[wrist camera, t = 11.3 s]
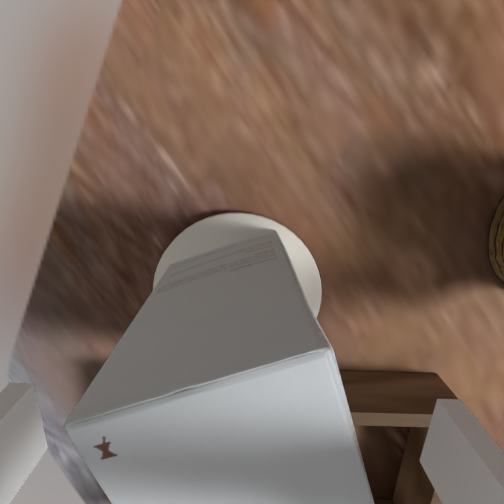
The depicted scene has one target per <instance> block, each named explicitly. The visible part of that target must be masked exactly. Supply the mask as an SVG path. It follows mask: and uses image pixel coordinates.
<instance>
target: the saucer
mask: <svg viewBox="0 0 504 504" xmlns="http://www.w3.org/2000/svg"><path fill="white" fill-rule="evenodd" d="M274 230H276V231H277V233H278V234H279V236H280V238H281V240H282V242H283V244H284V246H285V248H286V250H287V253H288V255H289V257H290V259H291V262H292V264H293V266H294V268H295V271H296V273H297V276H298V278H299V280H300V283H301V285H302V287H303V289H304V292H305V294H306V296H307V298H308V300H309V303H310V305H311V307H312V310H313V312H314V314H315V316H316V318H317V316H318V313H319V309H320V304H321V295H322V288H321V279H320V275H319V271H318V268H317V266H316V263H315V261H314V259H313V257H312V255H311V254H310V252H309V250H308V249H307V247H306V246H305V245H304V243H303V242H302V241H301V239H300V238H299V237H298V236H297V235H296V234H294V233H293V232H292V231H291V230H290V229H288V228H287V227H286V226H284V225H283V224H281V223H279V222H277V221H275V220H273V219H271V218H268V217H265V216H262V215H258V214H254V213H247V212H226V213H220V214H216V215H212V216H209V217H206V218H204V219H201V220H199V221H197V222H195V223H194V224H192V225H190V226H189V227H187V228H186V229H185V230H184V231H182V232H181V233H180V234H179V235H178V236H177V237H176V238H175V239H174V240H173V241H172V242H171V244H170V245H169V246H168V248H167V249H166V250H165V252H164V253H163V255H162V257H161V259H160V261H159V263H158V266H157V269H156V272H155V276H154V282H153V290H154V288H155V287H156V285H157V284H158V282H159V281H160V279H161V278H162V276H163V275H164V273H165V272H166V270H167V269H168V267H169V265H170V264H173V263H176V262H179V261H182V260H185V259H188V258H191V257H194V256H197V255H200V254H203V253H206V252H209V251H212V250H215V249H218V248H221V247H224V246H227V245H230V244H233V243H236V242H239V241H242V240H245V239H248V238H251V237H254V236H258V235H261V234H264V233H268V232H271V231H274Z"/></svg>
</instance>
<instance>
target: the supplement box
mask: <svg viewBox="0 0 504 504" xmlns="http://www.w3.org/2000/svg"><path fill="white" fill-rule="evenodd" d="M64 428H65V430H66V431H67V433H68V434H69V436H70V438H71V439H72V441H73V443H74V445H75V446H76V448H77V450H78V452H79V453H80V455H81V457H82V459H83V460H84V462H85V463H86V465H87V466H88V468H89V470H90V471H91V473H92V474H93V476H94V477H95V479H96V481H97V482H98V484H99V485H100V487H101V488H102V490H103V491H104V493H105V494H106V496H107V497H108V499H109V500H110V502H111V503H112V504H374V500H373V496H372V493H371V489H370V486H369V482H368V478H367V474H366V471H365V467H364V463H363V459H362V455H361V452H360V448H359V444H358V440H357V436H356V432H355V429H354V425H353V421H352V417H351V413H350V409H349V406H348V402H347V398H346V395H345V391H344V387H343V384H342V380H341V376H340V373H339V369H338V365H337V362H336V358H335V354H334V351H333V348H332V346H331V344H330V343H329V341H328V339H327V337H326V336H325V334H324V332H323V330H322V328H321V326H320V324H319V322H318V320H317V318H316V316H315V314H314V312H313V310H312V307H311V305H310V303H309V300H308V298H307V296H306V294H305V292H304V289H303V287H302V285H301V283H300V280H299V278H298V276H297V273H296V271H295V268H294V266H293V264H292V262H291V259H290V257H289V255H288V253H287V250H286V248H285V246H284V244H283V242H282V240H281V238H280V236H279V234H278V233H277V231H276V230H274V231H271V232H268V233H264V234H261V235H258V236H254V237H251V238H248V239H245V240H242V241H239V242H236V243H233V244H230V245H227V246H224V247H221V248H218V249H215V250H212V251H209V252H206V253H203V254H200V255H197V256H194V257H191V258H188V259H185V260H182V261H179V262H176V263H173V264H170V265H169V267H168V269H167V270H166V272H165V273H164V275H163V276H162V278H161V279H160V281H159V282H158V284H157V285H156V287H155V288H154V290H153V291H152V293H151V294H150V296H149V297H148V299H147V300H146V302H145V303H144V305H143V306H142V307H141V309H140V310H139V312H138V313H137V315H136V317H135V318H134V319H133V321H132V323H131V324H130V326H129V327H128V329H127V330H126V332H125V333H124V335H123V336H122V338H121V339H120V341H119V342H118V344H117V345H116V347H115V348H114V350H113V351H112V353H111V354H110V356H109V357H108V359H107V360H106V362H105V363H104V365H103V366H102V368H101V369H100V371H99V372H98V374H97V375H96V377H95V378H94V380H93V381H92V383H91V384H90V386H89V387H88V389H87V390H86V392H85V393H84V395H83V396H82V398H81V399H80V401H79V402H78V404H77V405H76V407H75V408H74V410H73V411H72V413H71V414H70V416H69V417H68V419H67V420H66V422H65V424H64Z"/></svg>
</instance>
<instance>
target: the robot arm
mask: <svg viewBox="0 0 504 504" xmlns="http://www.w3.org/2000/svg"><path fill="white" fill-rule="evenodd" d="M47 448H48V447H47V443H46V438H45V433H44V428H43V423H42V418H41V413H40V409H39V404H38V399H37V394H36V389H35V384H31V383H10V384H9V385H8V386H7V387H6V388H4V390H2V391H1V392H0V504H10V503H11V502H12V500H13V499H14V497H15V496H16V494H17V493H18V491H19V490H20V488H21V487H22V485H23V484H24V482H25V481H26V479H27V478H28V476H29V475H30V473H31V472H32V471H33V469H34V468H35V466H36V465H37V463H38V462H39V460H40V459H41V457H42V456H43V454H44V453H45V451H46V450H47ZM420 463H421V465H422V466H423V468H424V470H425V472H426V474H427V476H428V478H429V480H430V482H431V483H432V485H433V487H434V489H435V491H436V493H437V495H438V497H439V498H440V500H441V502H442V504H504V452H503V451H502V450H501V448H500V447H499V446H498V445H497V444H496V442H495V441H494V440H493V439H492V438H491V436H490V435H489V434H488V433H487V431H486V430H485V429H484V428H483V427H482V425H481V424H480V423H479V422H478V420H477V419H476V418H475V417H474V416H473V414H472V413H471V412H470V411H469V409H468V408H467V407H466V406H465V405H464V403H463V402H462V401H461V400H460V399H437V401H436V405H435V408H434V412H433V415H432V419H431V422H430V426H429V429H428V433H427V436H426V440H425V443H424V447H423V450H422V454H421V457H420Z"/></svg>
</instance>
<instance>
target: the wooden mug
mask: <svg viewBox="0 0 504 504" xmlns="http://www.w3.org/2000/svg"><path fill="white" fill-rule="evenodd" d="M489 259H490V261H491V264H492V267H493V269H494V272H495V274H496V275H497V276H498V277H499V278H500V279H501V280H502V281H503V282H504V198H503V200H502V201H501V203H500V204H499V206H498V208H497V210H496V213H495V215H494V218H493V221H492V223H491V227H490V235H489Z"/></svg>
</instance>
